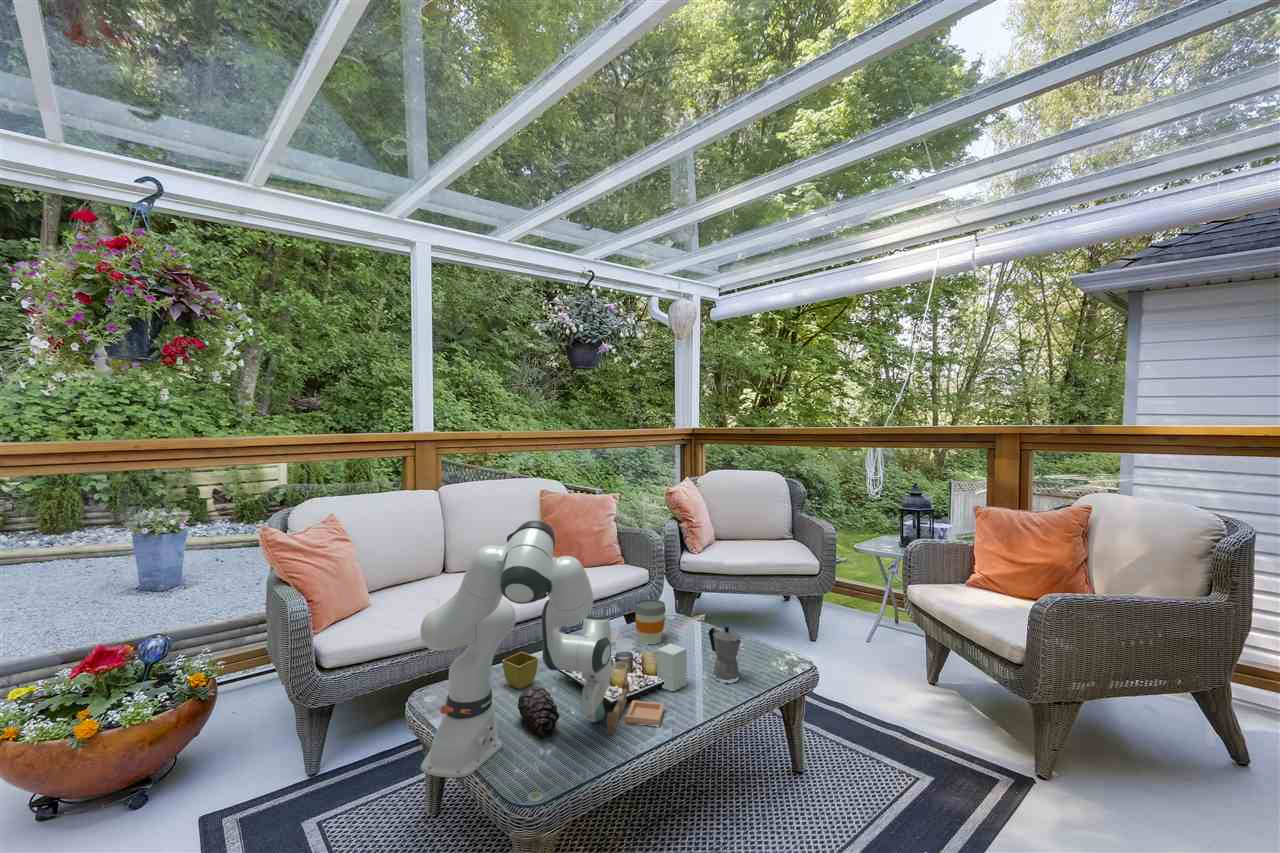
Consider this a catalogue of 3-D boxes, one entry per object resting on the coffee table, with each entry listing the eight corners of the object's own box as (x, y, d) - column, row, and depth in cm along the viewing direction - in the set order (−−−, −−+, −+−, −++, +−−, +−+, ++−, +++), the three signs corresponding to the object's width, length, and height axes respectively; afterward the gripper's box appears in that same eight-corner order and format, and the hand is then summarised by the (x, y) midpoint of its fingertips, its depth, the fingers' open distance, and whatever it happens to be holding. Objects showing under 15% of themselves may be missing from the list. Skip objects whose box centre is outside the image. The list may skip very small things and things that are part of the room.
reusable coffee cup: (631, 645, 233) (631, 608, 233) (637, 634, 245) (637, 598, 245) (663, 648, 231) (663, 610, 231) (667, 636, 243) (667, 600, 243)
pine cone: (538, 746, 163) (538, 710, 162) (511, 719, 177) (511, 685, 177) (571, 734, 169) (571, 699, 169) (543, 709, 183) (543, 676, 183)
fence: (613, 735, 168) (613, 716, 168) (607, 734, 169) (607, 715, 168) (629, 699, 190) (629, 681, 189) (623, 698, 190) (623, 681, 190)
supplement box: (687, 685, 199) (687, 648, 199) (673, 693, 194) (673, 655, 194) (670, 678, 204) (670, 642, 204) (656, 685, 199) (656, 648, 199)
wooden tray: (659, 727, 173) (659, 720, 173) (625, 723, 175) (625, 716, 175) (664, 710, 182) (664, 703, 182) (632, 707, 184) (632, 700, 184)
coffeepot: (749, 682, 202) (750, 629, 202) (730, 689, 197) (730, 635, 196) (718, 666, 215) (719, 617, 214) (699, 672, 209) (699, 622, 209)
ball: (602, 725, 173) (602, 709, 173) (585, 724, 174) (585, 707, 174) (606, 717, 178) (606, 700, 178) (590, 715, 179) (590, 699, 179)
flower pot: (518, 694, 193) (519, 666, 192) (501, 686, 198) (501, 659, 198) (538, 684, 200) (539, 657, 199) (521, 677, 205) (521, 651, 205)
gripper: (597, 686, 165) (597, 735, 165) (614, 656, 185) (614, 700, 186) (575, 684, 166) (575, 732, 167) (595, 654, 186) (594, 698, 187)
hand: (596, 715), depth 176 cm, fingers closed on ball, 5 cm apart
